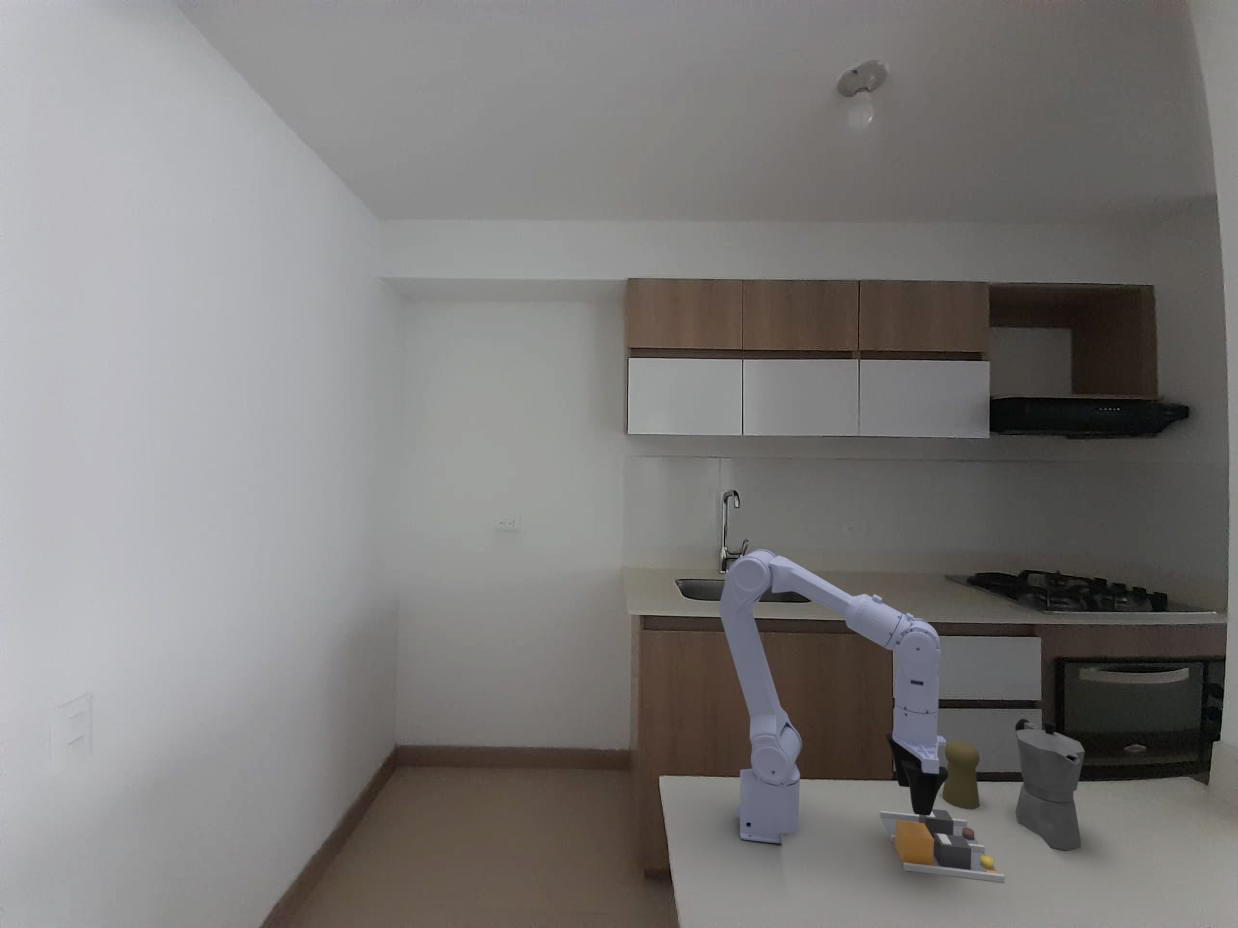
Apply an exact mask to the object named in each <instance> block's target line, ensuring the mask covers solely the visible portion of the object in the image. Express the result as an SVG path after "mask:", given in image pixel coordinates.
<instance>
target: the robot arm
mask: <svg viewBox="0 0 1238 928" xmlns="http://www.w3.org/2000/svg"><path fill="white" fill-rule="evenodd" d="M770 588H771V593H773V594H778V593H787V592H794V593H796V594H798V595H801V596H803V597H804V598H807V599H809V600H811V601H813V602H815V603H817V604H819V605H822V606H823V607H825V608H827V609H829V610H831V611H834V612H835V613H837V614H840V615H841V616H842V617H843V618H844V621H845V623H846V626H847V628H848V629H850V630H851V631H854V632H855V633H857V634H859V635H861V636H863V637H865V638H867V639H868V640H870V641H872V642H873V643H876V644H877V645H880V646H881V647H883V648H884V649H885V650H888V651H889V650H890V651H894V652H895V654H896V656H897V669H896V671H895V682H894V683H895V684H894V686H895V688H894V689H895V690H894V718H893V719H894V721H893V722H894V723H893V729H892V733H891V732H888V733H885V735H884V736H885V738H886V740H887V742H888V745H889V749H890V751H891V754H892V758H893V763H894V770H895V775H896V776H895V777H896V780H897V783H898V786H899V787H903V788H909V791H910V792H909V794H910V801H911V808H912V811H913V814H916V815H927V816H930V814H931V812H932V809H934V805H935V803H936V798H937V795H938V793H939V791H940V789H941V787H942V785H944V782H945V780H946V779H947V778H948V771H947V767H945V766H940V759H939V757H938V755H939V754H938V753H939V747H946V746H947V740H946V739H945V738H944V736H942V735H938V729H939V727H938V726H939V725H938V724H939V723H938V721H939V694H940V693H939V691H940V689H939V688H940V679H939V676H938V673H939V672H940V671H939V662H940V660H941V658H942V653H943V652H942V651H941V642H940V636H939V634H938V632H937V631H936V629H935V628H934V627H933V626H932V625H931V624H930V623H928V622H927V621H926V620H925V619H923V618H917V617H916V618H915V617H914V616H915V615H913V614H911V613H910V612H907V613H906V614H904V613H902V612H901V611H898V610H896V609H895V608H893V607H891V606H889V605H888V604H885V603H883V601H882V600H883V598H882V597H881V596H879V595H877V594H873V595H872V596H870V595H868V594H867V593H862V594H859V595H855V596H852V595H851V594H850V593H848V592H846V591H845V590H844V591H843V590H842V589H840V588H838V587H837V586H835V585H833V584H832V583H830V582H829V581H827V580H825V579H824V578H822V577H819V576H818V575H817V574H815V573H812V572H811V571H809V570H808V569H806V568H804V567H802V566H800V565H799V564H797V563H796V562H794V561H792V560H791V559H788V558H787V557H784V556H782V555H776V554H775V553H773V552H772V551H770V550H768V549H764V548H763V549H761V548H760V549H756V550H753V551H751V552H750V553H748V554H746V555H743V556H741V557H739V558H737V559H735V561H734V562H733V563H732V564H731V566H730V567H729V569H728V570H727V572H726V573H725V574H724V584H723V589H722V592H721V596H720V602H719V605H718V612H719V616H720V619H721V622H722V626H723V629H724V632H725V636H726V639H727V643H728V646H729V650H730V652H731V653H730V654H731V656H732V659H733V663H734V667H735V670H736V673H737V678H738V680H739V683H740V687H741V690H742V694H743V697H744V700H745V704H746V707H747V711H748V713H749V719H750V721H749V722H750V724H749V740H750V743H751V755H750V763H751V767H752V768H746V769H740V774H739V776H740V777H739V804H738V805H737V818H739V838H740V839H741V840H746V841H755V842H763V843H773V844H778V845H779V844H780V845H782V844H783V843H782V836H781V835H788V834H791V833H794V832H795V831H797V830H798V828H799V823H800V822H799V820H800V819H799V818H800V817H799V814H800V779H801V773H800V770H799V769H798V767H797V764H796V763H797V762H796V760H797V759H798V756H799V755H800V753H801V752H802V751H801V750H802V746H803V741H802V738H801V735H800V733H799V732H798V730H797V729H796V728H795V727H794V726H793V725H792V723H791V720H790V719H789V716H788V713H787V712H786V711H785V710H784V709H783V707H782V706H781V703H780V700H779V695H778V692H777V690H776V689H777V688H776V686H775V683H774V680H773V677H772V674H771V669H770V667H769V664H768V663H769V662H768V660H767V657H766V653H765V650H764V647H763V646H764V645H763V643H762V640H761V636H760V632H759V630H758V627H757V623H756V621H755V616H754V614H753V613H754V612H753V610H754V609H755V608H756V606H757V605H758V603H759V601H760V599H762V595H764V593H765V592H767V591H768V590H769V589H770Z"/></svg>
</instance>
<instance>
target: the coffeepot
mask: <svg viewBox="0 0 1238 928" xmlns="http://www.w3.org/2000/svg"><path fill="white" fill-rule="evenodd" d="M1056 725H1057V724H1056V723H1054V722H1052V721H1048V720H1045V721H1044V722H1043V726H1044V729H1039V726H1038V725H1036V724H1035V723H1034V722H1033V723H1032V722H1031V721H1029V720H1028V719H1027V718H1020V719H1019V720H1018V721H1017V722H1016V724H1015V725H1014V727H1015V728H1014V729H1015V734H1016V741H1017V748H1018V749H1017V750H1018V757H1019V764H1020V773H1021V776H1022V779H1023V782H1022V783H1023V784H1022V785H1021V787H1020V790H1019V795H1018V799H1017V804H1016V808H1015V812H1014V813H1015V818H1016V820H1017V821H1016V822H1017V823H1018V824H1019V825H1020V826H1022V827H1024V828H1025V829H1027V830H1028V831H1030V832H1032V833H1034V834H1036V835H1037V836H1040V837H1041V839H1042V840H1043V841H1044V843H1046V844H1047V846H1048V847H1049V848H1050V849H1053V850H1059V851H1073V850H1076V849H1078V848H1079V847H1081V846H1082V839H1081V835H1080V827H1079V821H1078V814H1077V808H1076V803H1075V800H1074V792H1076V791H1077V790H1078V785H1079V780H1080V776H1081V770H1082V768H1083V767H1082V766H1083V763H1084V758H1085V753H1086V751H1085V749H1084V747H1083V745H1082V744H1081V742H1080V741H1078V740H1075V739H1073V738H1071V737H1068V736H1066V735H1063V734H1061V733H1059V732H1056V731H1055V729H1056Z"/></svg>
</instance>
